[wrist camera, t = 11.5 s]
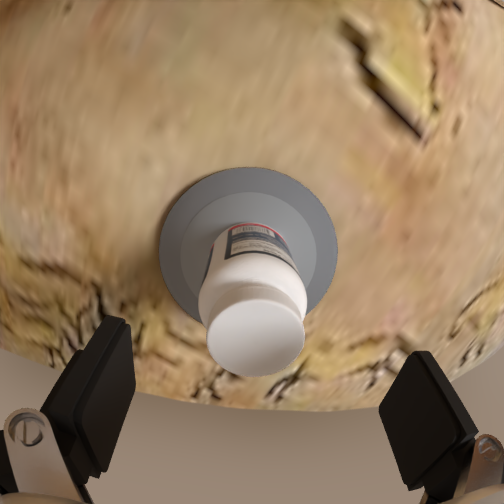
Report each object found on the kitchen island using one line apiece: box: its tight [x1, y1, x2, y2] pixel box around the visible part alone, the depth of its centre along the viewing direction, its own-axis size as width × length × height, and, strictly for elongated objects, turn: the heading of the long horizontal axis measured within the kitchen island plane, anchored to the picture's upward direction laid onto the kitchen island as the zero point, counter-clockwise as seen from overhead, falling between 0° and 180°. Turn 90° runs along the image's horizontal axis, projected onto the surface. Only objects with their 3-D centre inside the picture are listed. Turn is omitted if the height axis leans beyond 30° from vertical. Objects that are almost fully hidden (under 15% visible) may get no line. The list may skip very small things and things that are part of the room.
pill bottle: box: [198, 222, 307, 377], centre depth 16 cm, size 5×5×9 cm
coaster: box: [159, 167, 338, 324], centre depth 21 cm, size 12×12×1 cm
